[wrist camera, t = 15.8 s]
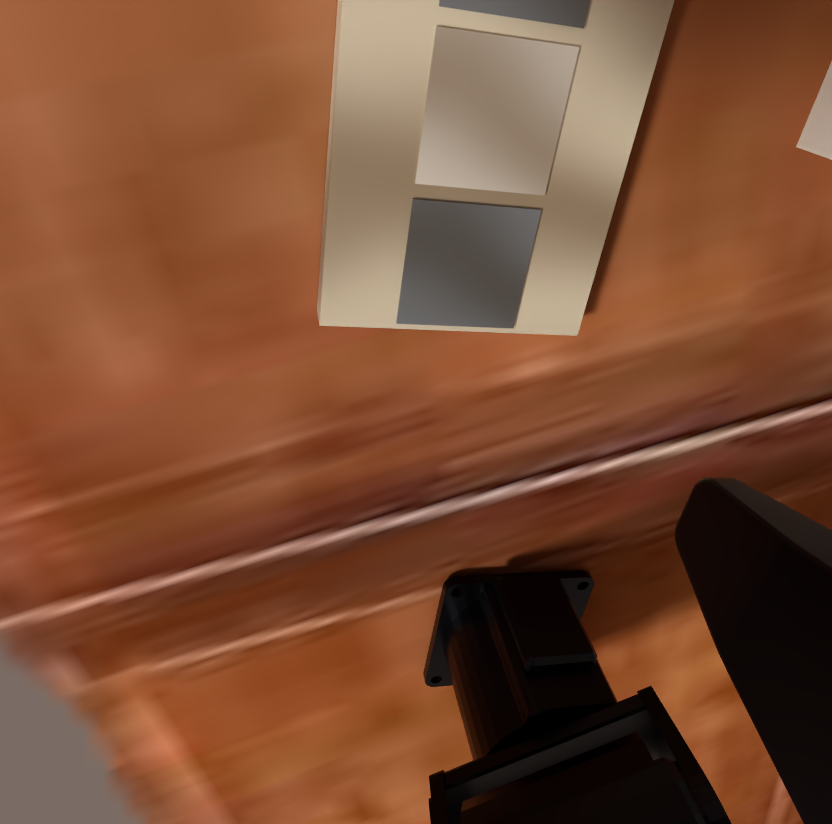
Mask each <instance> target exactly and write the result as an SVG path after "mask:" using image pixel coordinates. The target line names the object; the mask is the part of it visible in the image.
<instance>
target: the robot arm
mask: <svg viewBox="0 0 832 824" xmlns="http://www.w3.org/2000/svg"><path fill="white" fill-rule="evenodd" d="M675 540H676V545H677V548H678V551H679V553H680V556H681V559H682V561H683V564H684V566H685V569H686V571H687V574H688V577H689V579H690V582H691V584H692V587H693V590H694V592H695V595H696V597H697V600H698V602H699V605H700V608H701V610H702V613H703V615H704V618H705V620H706V623H707V626H708V628H709V631H710V633H711V636H712V638H713V641H714V643H715V645H716V648H717V650H718V653H719V655H720V657H721V659H722V661H723V663H724V665H725V668H726V670H727V672H728V674H729V676H730V678H731V680H732V682H733V684H734V686H735V688H736V690H737V692H738V694H739V696H740V698H741V700H742V702H743V704H744V706H745V708H746V710H747V712H748V713H749V715H750V717H751V719H752V721H753V723H754V725H755V727H756V729H757V731H758V733H759V735H760V737H761V739H762V741H763V743H764V745H765V747H766V749H767V751H768V753H769V755H770V757H771V759H772V761H773V763H774V765H775V767H776V769H777V771H778V773H779V775H780V777H781V779H782V781H783V783H784V785H785V787H786V789H787V791H788V793H789V795H790V797H791V799H792V801H793V803H794V805H795V807H796V809H797V811H798V813H799V815H800V817H801V819H802V821H803V823H804V824H832V530H830V529H828V528H826V527H825V526H823V525H821V524H819V523H817V522H815V521H813V520H811V519H810V518H808V517H806V516H804V515H802V514H800V513H798V512H796V511H795V510H793V509H791V508H789V507H787V506H785V505H783V504H782V503H780V502H778V501H776V500H774V499H772V498H770V497H768V496H767V495H765V494H763V493H761V492H759V491H757V490H755V489H753V488H752V487H750V486H748V485H746V484H744V483H742V482H740V481H739V480H736V479H734V478H728V477H720V478H704V479H701V480H700V481H698V482H697V483H696V484H695V486H694V488H693V490H692V492H691V494H690V496H689V499H688V501H687V503H686V505H685V507H684V510H683V512H682V514H681V516H680V518H679V521H678V523H677V526H676V530H675ZM593 586H594V581H593V579H592V577H591V575H590V573H589V572H587V571H584V570H579V571H558V572H537V573H516V574H496V575H475V576H456V577H452V578H450V579H448V580H447V581H446V582H445V583H444V585H443V588H442V592H441V597H440V601H439V606H438V610H437V615H436V619H435V624H434V628H433V633H432V637H431V642H430V646H429V651H428V655H427V659H426V664H425V668H424V679H425V683H426V684H427V685H428V686H430V687H438V686H450V685H453V688H454V691H455V695H456V699H457V702H458V706H459V710H460V713H461V717H462V721H463V724H464V728H465V732H466V735H467V739H468V743H469V746H470V750H471V754H472V757H473V761H471V762H469V763H466V764H464V765H461V766H459V767H456V768H454V769H451V770H449V771H446V772H444V771H443V770H442V771H439V772H437V773H434V774H432V775H430V776H429V781H430V791H431V798H430V799H429V810H430V820H431V824H731V822H730V820H729V818H728V816H727V814H726V812H725V810H724V808H723V806H722V804H721V802H720V800H719V799H718V797H717V795H716V793H715V791H714V789H713V788H712V786H711V784H710V782H709V781H708V779H707V777H706V775H705V774H704V772H703V770H702V769H701V767H700V765H699V764H698V762H697V760H696V759H695V757H694V755H693V754H692V752H691V751H690V749H689V747H688V746H687V744H686V742H685V741H684V739H683V737H682V736H681V734H680V732H679V731H678V729H677V727H676V726H675V724H674V723H673V721H672V719H671V718H670V716H669V714H668V713H667V711H666V709H665V708H664V706H663V704H662V703H661V701H660V699H659V698H658V696H657V695H656V693H655V691H654V690H653V688H652V686H649V687H647V688H644V689H642V690H639V691H637V693H638V694H637V695H634V696H632V697H629V698H627V699H624V700H622V701H619V702H617V700H616V697H615V695H614V693H613V691H612V689H611V687H610V685H609V683H608V681H607V679H606V677H605V675H604V673H603V671H602V669H601V667H600V664H599V662H598V660H597V654H596V652H595V650H594V648H593V646H592V644H591V642H590V639H589V637H588V635H587V633H586V631H585V629H584V627H583V625H582V623H581V621H580V620H581V617H582V614H583V612H584V609H585V607H586V604H587V601H588V599H589V596H590V594H591V591H592V588H593ZM456 588H458V589H456Z"/></svg>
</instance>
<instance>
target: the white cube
mask: <svg viewBox="0 0 832 824" xmlns="http://www.w3.org/2000/svg"><path fill="white" fill-rule="evenodd" d="M796 147H798V148H800V149H803V150H806V151H809V152H812V153H814V154H817V155H820V156H823V157H826V158H828V159H831V160H832V62H831V64H830V66H829V69H828V71H827V74H826V76H825V79H824V81H823V83H822V86H821V88H820V91H819V93H818V95H817V98H816V100H815V103H814V105H813V108H812V110H811V112H810V115H809V117H808V120H807V122H806V125H805V127H804V129H803V132H802V134H801V137H800V139H799V141H798V144H797V146H796Z"/></svg>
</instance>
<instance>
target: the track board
mask: <svg viewBox="0 0 832 824" xmlns="http://www.w3.org/2000/svg"><path fill="white" fill-rule="evenodd" d="M674 1H675V0H338V5H337V20H336V35H335V50H334V65H333V79H332V94H331V109H330V124H329V139H328V154H327V169H326V184H325V199H324V214H323V229H322V244H321V259H320V274H319V289H318V304H317V313H318V319H319V324H320V325H321V326H346V327H372V328H397V329H422V330H448V331H473V332H498V333H524V334H549V335H574V336H577V335H578V332H579V328H580V325H581V321H582V318H583V314H584V311H585V308H586V304H587V301H588V297H589V294H590V290H591V287H592V283H593V280H594V277H595V273H596V270H597V266H598V263H599V259H600V256H601V252H602V249H603V246H604V242H605V239H606V235H607V232H608V228H609V225H610V221H611V218H612V214H613V211H614V208H615V204H616V201H617V197H618V194H619V190H620V187H621V183H622V180H623V177H624V173H625V170H626V166H627V163H628V159H629V156H630V152H631V149H632V145H633V142H634V139H635V135H636V132H637V128H638V125H639V121H640V118H641V114H642V111H643V108H644V104H645V101H646V97H647V94H648V90H649V87H650V83H651V80H652V77H653V73H654V70H655V66H656V63H657V59H658V56H659V52H660V49H661V45H662V42H663V39H664V35H665V32H666V28H667V25H668V21H669V18H670V14H671V11H672V8H673V4H674Z"/></svg>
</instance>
